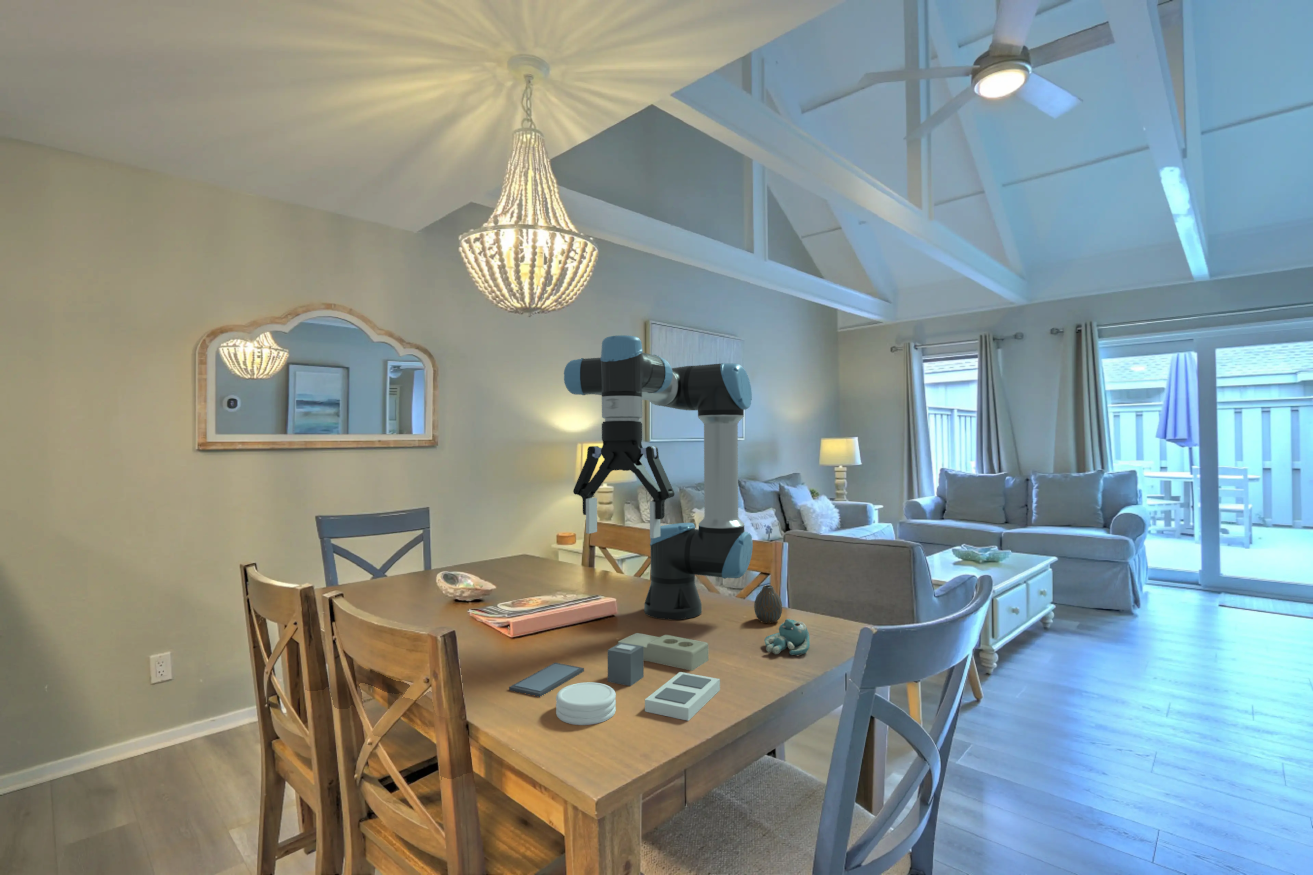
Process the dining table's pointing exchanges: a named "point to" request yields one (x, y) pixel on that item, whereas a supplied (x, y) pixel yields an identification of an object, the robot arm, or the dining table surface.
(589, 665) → the dining table surface
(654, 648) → the electrical outlet
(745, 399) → the robot arm
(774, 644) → the stuffed animal
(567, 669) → the phone
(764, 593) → the vase
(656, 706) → the plate
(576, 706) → the coaster
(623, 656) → the block
